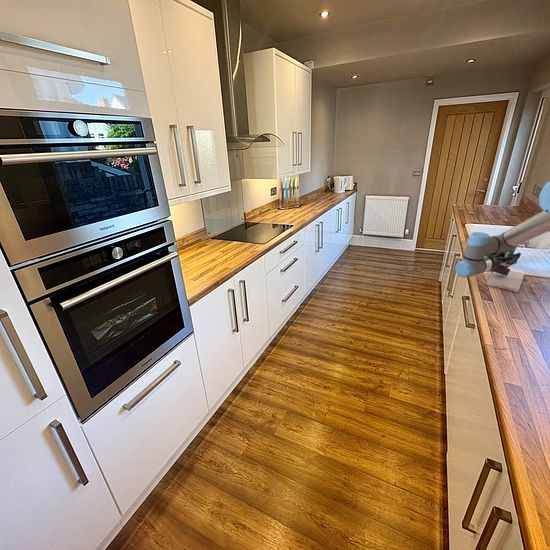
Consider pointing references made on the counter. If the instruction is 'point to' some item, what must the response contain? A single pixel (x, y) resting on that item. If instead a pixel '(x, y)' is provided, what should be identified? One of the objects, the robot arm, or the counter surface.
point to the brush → (503, 269)
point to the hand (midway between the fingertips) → (515, 254)
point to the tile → (506, 280)
